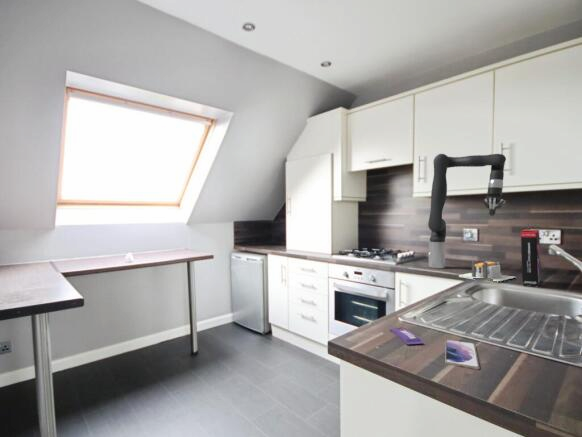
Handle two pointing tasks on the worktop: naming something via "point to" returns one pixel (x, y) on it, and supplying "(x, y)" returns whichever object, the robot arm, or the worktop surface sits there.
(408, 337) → the snack package
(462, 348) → the smartphone
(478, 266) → the retention strap
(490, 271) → the heatsink board
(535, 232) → the graphics card box
